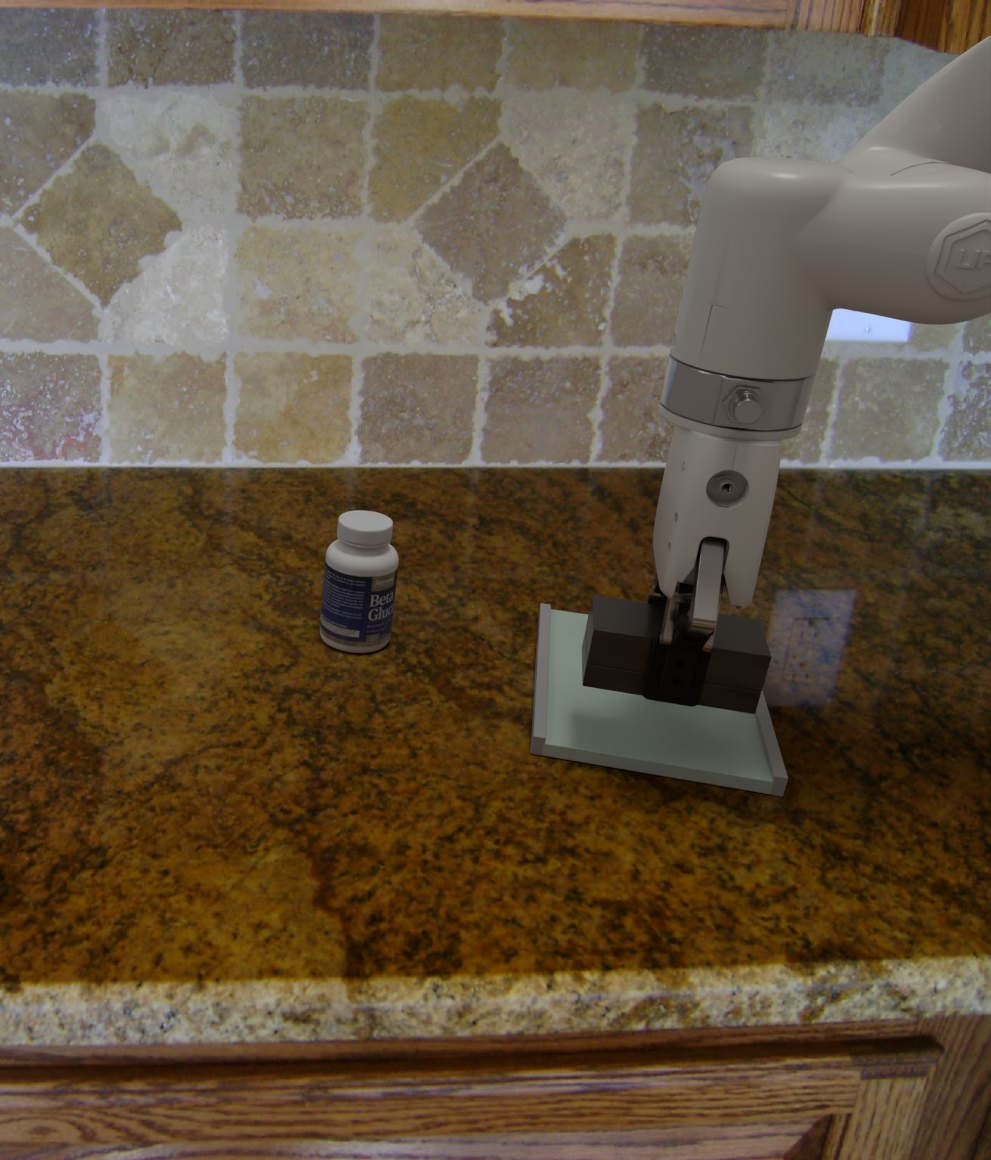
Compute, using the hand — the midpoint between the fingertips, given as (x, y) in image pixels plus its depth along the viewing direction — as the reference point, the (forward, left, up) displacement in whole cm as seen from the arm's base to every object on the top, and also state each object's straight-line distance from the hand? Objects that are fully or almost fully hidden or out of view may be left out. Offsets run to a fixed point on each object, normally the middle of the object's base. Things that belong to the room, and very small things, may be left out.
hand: (666, 674), depth 73 cm
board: (0, -8, -6) cm, 10 cm away
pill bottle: (+21, -10, -6) cm, 24 cm away
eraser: (0, 0, 0) cm, 0 cm away
